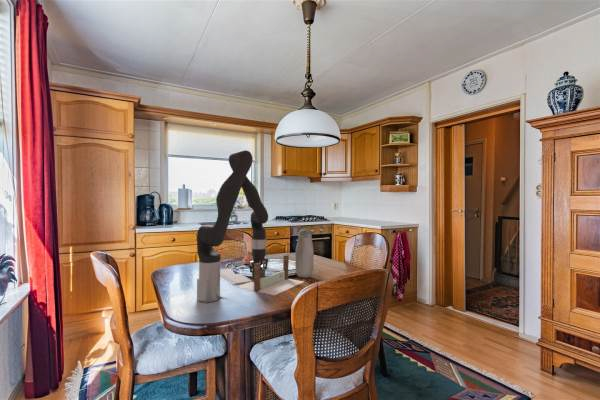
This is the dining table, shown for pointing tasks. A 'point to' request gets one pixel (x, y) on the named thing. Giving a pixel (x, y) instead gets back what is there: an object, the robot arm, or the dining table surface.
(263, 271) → the doorstop
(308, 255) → the grey bottle
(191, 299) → the dining table surface
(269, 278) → the gate door
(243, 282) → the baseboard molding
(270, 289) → the floor mat
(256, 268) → the gate frame
